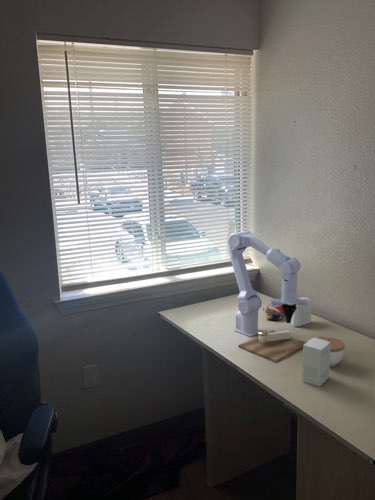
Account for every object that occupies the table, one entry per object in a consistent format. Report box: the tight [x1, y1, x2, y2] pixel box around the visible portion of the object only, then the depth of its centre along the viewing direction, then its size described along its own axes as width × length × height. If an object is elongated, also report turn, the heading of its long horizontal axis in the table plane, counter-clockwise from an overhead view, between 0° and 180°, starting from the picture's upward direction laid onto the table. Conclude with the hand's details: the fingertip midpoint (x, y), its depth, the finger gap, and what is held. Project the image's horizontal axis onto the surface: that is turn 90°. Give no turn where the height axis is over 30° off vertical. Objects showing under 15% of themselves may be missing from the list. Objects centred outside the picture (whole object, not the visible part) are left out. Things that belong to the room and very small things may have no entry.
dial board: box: [237, 330, 308, 363], centre depth 163 cm, size 18×22×1 cm
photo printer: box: [290, 296, 313, 328], centre depth 184 cm, size 10×4×12 cm, turn 123°
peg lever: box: [257, 329, 292, 344], centre depth 165 cm, size 14×4×4 cm, turn 105°
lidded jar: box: [317, 336, 346, 367], centre depth 148 cm, size 11×11×9 cm
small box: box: [301, 337, 331, 388], centre depth 136 cm, size 8×6×13 cm
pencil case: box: [265, 303, 284, 321], centre depth 198 cm, size 11×20×5 cm, turn 145°
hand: (288, 322), depth 163 cm, fingers closed
